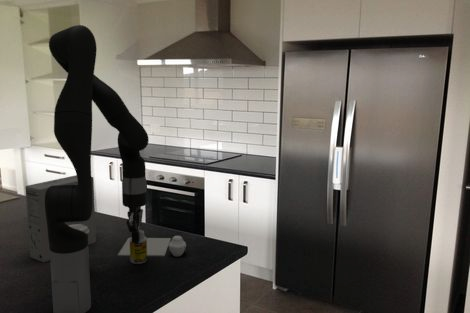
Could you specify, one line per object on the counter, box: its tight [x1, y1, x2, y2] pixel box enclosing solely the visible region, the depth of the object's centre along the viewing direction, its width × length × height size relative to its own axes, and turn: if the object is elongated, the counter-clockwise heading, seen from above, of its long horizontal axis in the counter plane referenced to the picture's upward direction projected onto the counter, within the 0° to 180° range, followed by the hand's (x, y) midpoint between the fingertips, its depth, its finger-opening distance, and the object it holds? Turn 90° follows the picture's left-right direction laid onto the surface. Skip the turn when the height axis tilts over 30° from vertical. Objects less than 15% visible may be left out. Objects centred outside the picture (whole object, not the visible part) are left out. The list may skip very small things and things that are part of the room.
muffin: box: [168, 235, 187, 257], centre depth 144 cm, size 6×6×7 cm
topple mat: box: [117, 237, 172, 257], centre depth 150 cm, size 16×16×1 cm
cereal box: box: [25, 174, 97, 263], centre depth 145 cm, size 22×8×25 cm, turn 149°
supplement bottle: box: [129, 229, 148, 265], centre depth 138 cm, size 6×6×10 cm
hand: (135, 242), depth 133 cm, fingers closed
